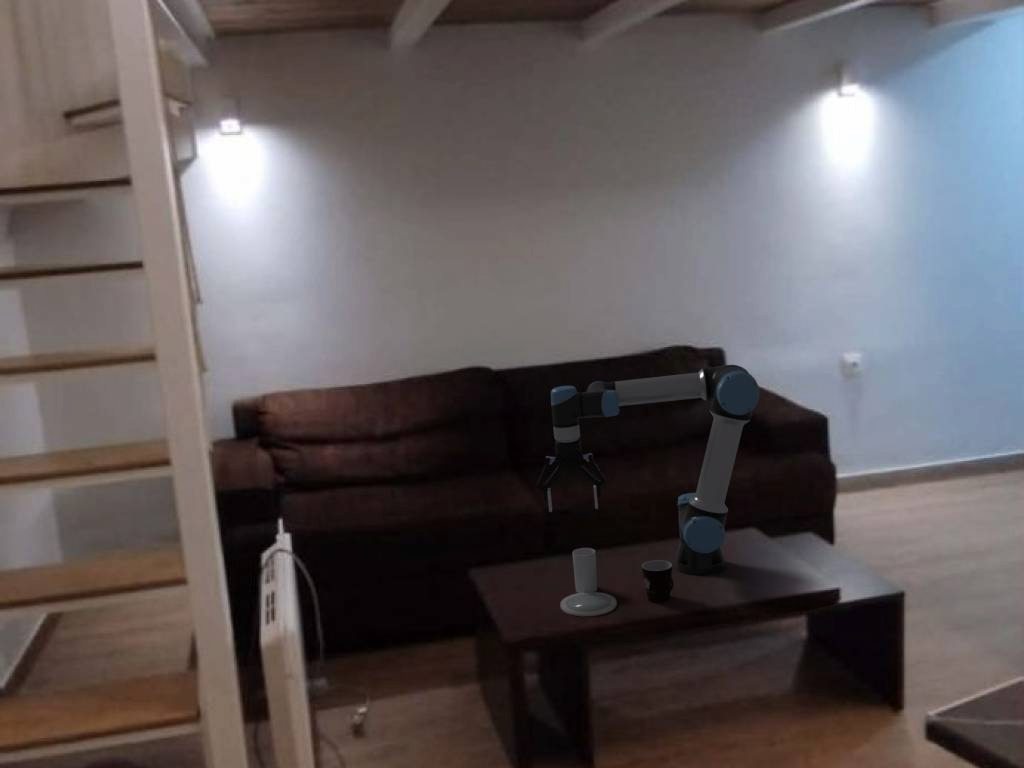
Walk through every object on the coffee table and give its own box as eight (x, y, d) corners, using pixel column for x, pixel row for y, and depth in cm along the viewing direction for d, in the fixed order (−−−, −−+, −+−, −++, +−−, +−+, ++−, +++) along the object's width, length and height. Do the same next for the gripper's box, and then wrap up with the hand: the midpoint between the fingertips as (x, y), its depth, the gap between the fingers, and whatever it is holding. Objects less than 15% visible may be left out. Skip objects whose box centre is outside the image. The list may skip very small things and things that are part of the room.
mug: (599, 593, 302) (597, 554, 300) (577, 595, 301) (574, 556, 299) (593, 581, 312) (591, 543, 310) (572, 583, 311) (569, 545, 309)
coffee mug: (642, 593, 299) (640, 561, 297) (671, 592, 299) (670, 559, 297) (646, 609, 287) (644, 575, 286) (677, 607, 287) (675, 573, 285)
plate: (618, 594, 300) (618, 591, 300) (614, 616, 284) (614, 613, 284) (563, 594, 303) (563, 592, 302) (557, 616, 287) (557, 613, 287)
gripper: (610, 433, 302) (615, 502, 306) (525, 439, 305) (532, 508, 308) (610, 439, 295) (616, 510, 298) (524, 445, 297) (530, 515, 301)
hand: (573, 509), depth 303 cm, fingers open, 13 cm apart
